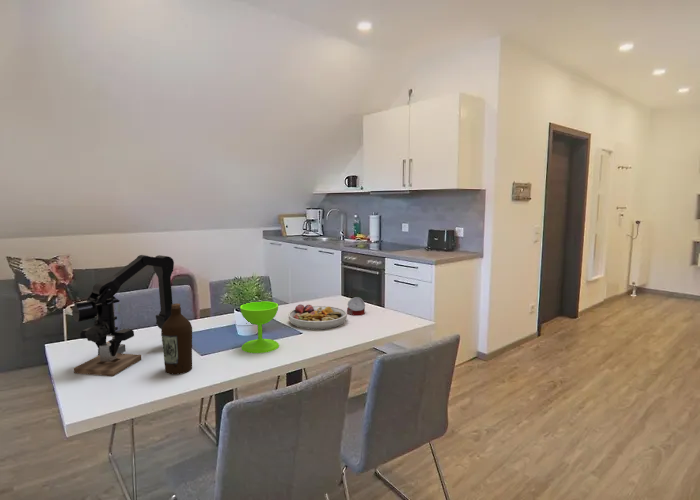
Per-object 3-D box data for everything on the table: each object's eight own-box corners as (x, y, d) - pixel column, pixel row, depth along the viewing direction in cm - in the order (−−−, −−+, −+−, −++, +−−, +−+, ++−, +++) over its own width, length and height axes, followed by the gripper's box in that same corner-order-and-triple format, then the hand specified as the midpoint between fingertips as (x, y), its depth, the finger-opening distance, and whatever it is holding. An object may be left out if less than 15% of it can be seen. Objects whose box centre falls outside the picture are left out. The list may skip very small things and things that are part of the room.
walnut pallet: (141, 359, 170) (141, 354, 170) (113, 376, 155) (113, 370, 154) (105, 357, 173) (104, 352, 173) (74, 373, 157) (73, 368, 157)
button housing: (125, 351, 180) (125, 344, 179) (114, 357, 173) (113, 350, 172) (110, 350, 181) (110, 343, 180) (98, 356, 174) (97, 349, 173)
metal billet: (117, 357, 165) (116, 342, 164) (109, 361, 161) (108, 346, 160) (107, 357, 166) (106, 342, 165) (100, 361, 162) (99, 345, 161)
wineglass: (233, 350, 181) (232, 308, 179) (254, 338, 196) (253, 300, 194) (266, 355, 175) (265, 312, 173) (285, 342, 190) (285, 303, 188)
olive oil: (178, 362, 167) (175, 299, 164) (200, 366, 163) (197, 302, 160) (156, 373, 157) (153, 306, 154) (179, 377, 154) (176, 309, 151)
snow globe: (364, 320, 242) (372, 305, 239) (354, 322, 234) (363, 307, 231) (349, 308, 247) (357, 294, 244) (339, 310, 239) (347, 295, 236)
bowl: (357, 320, 227) (357, 305, 226) (324, 335, 202) (324, 319, 201) (312, 312, 243) (312, 298, 242) (276, 325, 218) (276, 310, 217)
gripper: (66, 320, 155) (70, 362, 157) (113, 323, 152) (116, 365, 154) (89, 312, 166) (92, 351, 168) (133, 314, 163) (136, 354, 165)
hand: (108, 355), depth 163 cm, fingers closed on metal billet, 4 cm apart
